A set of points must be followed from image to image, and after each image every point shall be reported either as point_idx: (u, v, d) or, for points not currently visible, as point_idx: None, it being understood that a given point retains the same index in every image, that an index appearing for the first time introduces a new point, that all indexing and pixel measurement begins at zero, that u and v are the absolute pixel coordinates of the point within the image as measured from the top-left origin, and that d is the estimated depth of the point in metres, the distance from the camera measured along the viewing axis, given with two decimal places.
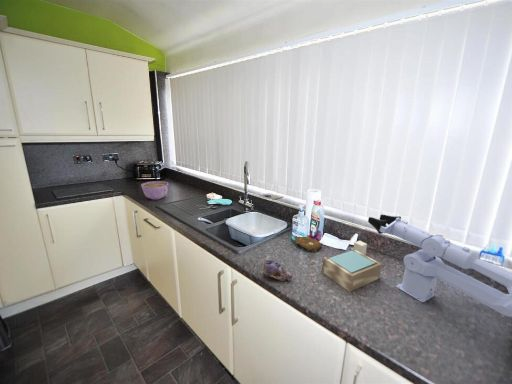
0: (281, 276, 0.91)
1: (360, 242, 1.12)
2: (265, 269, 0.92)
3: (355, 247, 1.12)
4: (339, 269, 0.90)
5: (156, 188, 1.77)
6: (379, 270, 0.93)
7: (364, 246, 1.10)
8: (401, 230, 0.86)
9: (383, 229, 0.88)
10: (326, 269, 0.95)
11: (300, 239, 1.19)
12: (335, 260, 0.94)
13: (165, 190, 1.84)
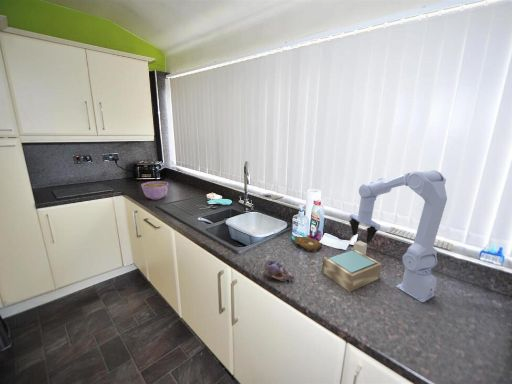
0: (282, 277, 0.90)
1: (360, 242, 1.12)
2: (266, 270, 0.92)
3: (355, 247, 1.12)
4: (339, 269, 0.90)
5: (156, 188, 1.77)
6: (379, 270, 0.93)
7: (364, 246, 1.10)
8: None
9: None
10: (326, 269, 0.95)
11: (300, 239, 1.18)
12: (335, 260, 0.94)
13: (165, 190, 1.84)
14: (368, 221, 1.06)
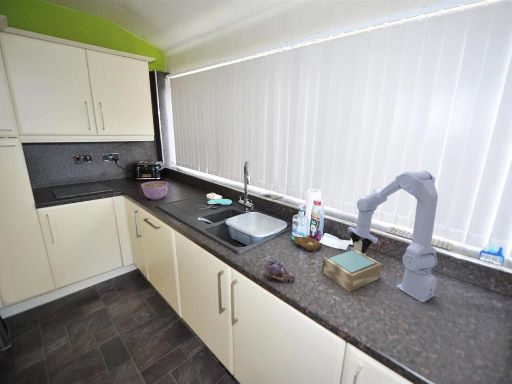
0: (283, 277, 0.90)
1: (360, 242, 1.12)
2: (267, 270, 0.92)
3: (355, 247, 1.12)
4: (339, 269, 0.90)
5: (156, 188, 1.77)
6: (379, 270, 0.93)
7: None
8: None
9: None
10: (326, 269, 0.95)
11: (300, 239, 1.18)
12: (335, 260, 0.94)
13: (165, 190, 1.84)
14: (366, 234, 1.07)
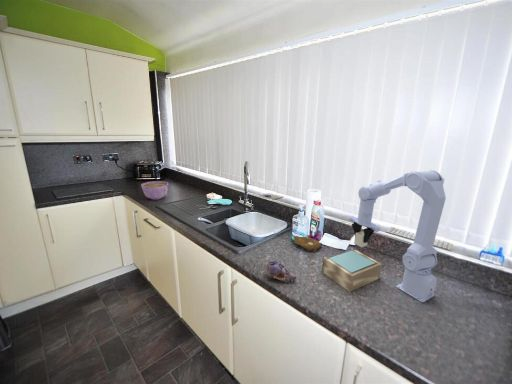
0: (285, 277, 0.90)
1: (362, 233, 1.11)
2: (268, 270, 0.92)
3: (356, 238, 1.11)
4: (339, 269, 0.90)
5: (156, 188, 1.77)
6: (379, 270, 0.93)
7: None
8: None
9: None
10: (326, 269, 0.95)
11: (299, 239, 1.18)
12: (335, 260, 0.94)
13: (165, 190, 1.84)
14: (368, 223, 1.06)
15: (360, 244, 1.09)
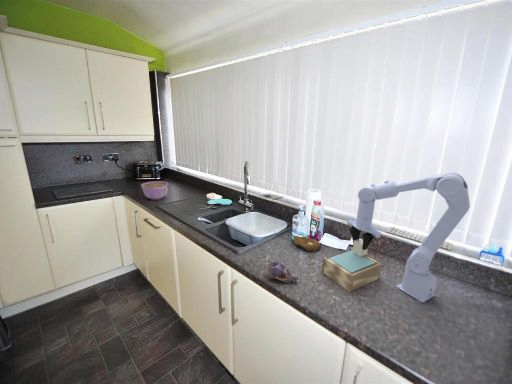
0: (286, 278, 0.90)
1: (361, 240, 0.99)
2: (270, 271, 0.91)
3: (355, 246, 0.99)
4: (339, 269, 0.90)
5: (156, 188, 1.77)
6: (379, 270, 0.93)
7: None
8: None
9: None
10: (326, 269, 0.95)
11: (299, 239, 1.18)
12: (335, 260, 0.94)
13: (165, 190, 1.84)
14: (367, 228, 0.94)
15: (359, 253, 0.98)
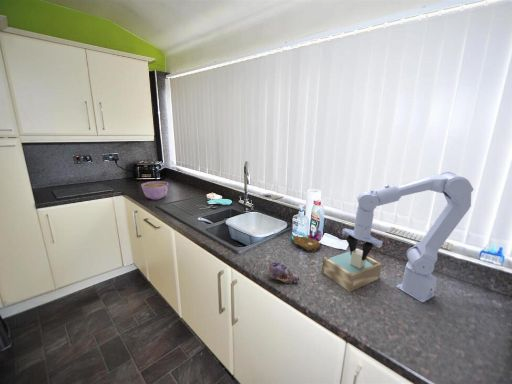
0: (287, 278, 0.89)
1: (358, 251, 0.92)
2: (271, 272, 0.91)
3: (353, 257, 0.92)
4: (339, 269, 0.90)
5: (156, 188, 1.77)
6: (379, 270, 0.93)
7: None
8: None
9: None
10: (326, 269, 0.95)
11: (299, 239, 1.18)
12: (335, 260, 0.95)
13: (165, 190, 1.84)
14: (367, 237, 0.87)
15: (358, 265, 0.91)
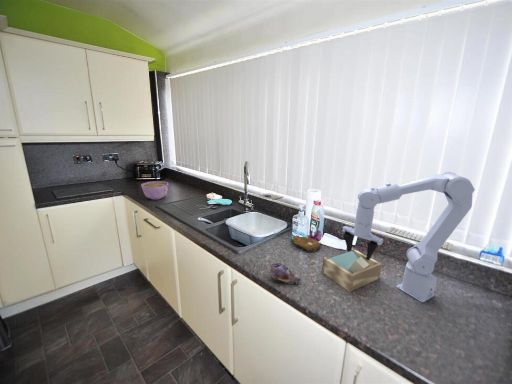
0: (289, 279, 0.89)
1: (362, 260, 0.92)
2: (272, 272, 0.90)
3: (354, 265, 0.92)
4: (339, 269, 0.90)
5: (156, 188, 1.77)
6: (379, 270, 0.93)
7: (366, 267, 0.91)
8: None
9: None
10: (326, 269, 0.95)
11: (299, 239, 1.18)
12: (334, 262, 0.95)
13: (165, 190, 1.84)
14: (368, 235, 0.86)
15: None
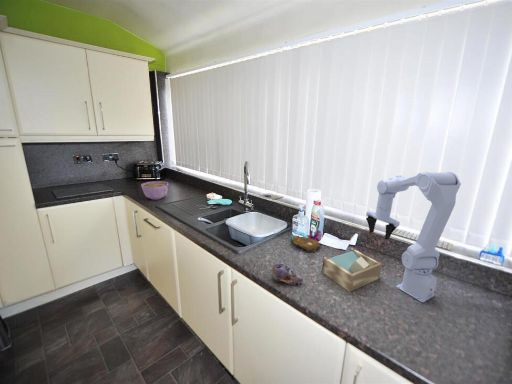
0: (291, 280, 0.89)
1: (362, 260, 0.92)
2: (275, 273, 0.90)
3: (354, 265, 0.92)
4: (339, 269, 0.90)
5: (156, 188, 1.77)
6: (379, 270, 0.93)
7: (366, 267, 0.91)
8: None
9: None
10: (326, 269, 0.95)
11: (298, 240, 1.18)
12: (334, 262, 0.95)
13: (165, 190, 1.84)
14: (387, 218, 1.03)
15: None
